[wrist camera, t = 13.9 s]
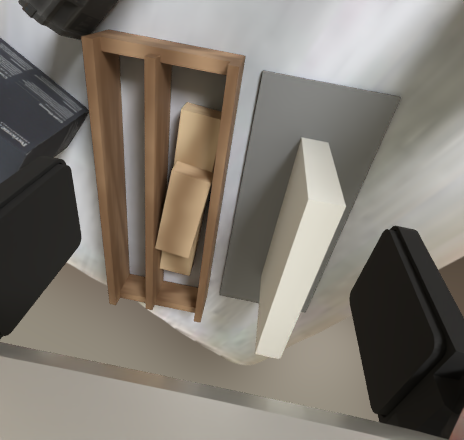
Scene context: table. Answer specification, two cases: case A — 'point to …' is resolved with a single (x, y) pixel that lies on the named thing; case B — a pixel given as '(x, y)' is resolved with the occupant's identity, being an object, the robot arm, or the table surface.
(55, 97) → the small box
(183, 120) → the offcut long
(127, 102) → the table surface
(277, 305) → the cream rectangular panel
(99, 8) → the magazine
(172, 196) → the offcut short
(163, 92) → the rack
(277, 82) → the mat
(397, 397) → the robot arm
